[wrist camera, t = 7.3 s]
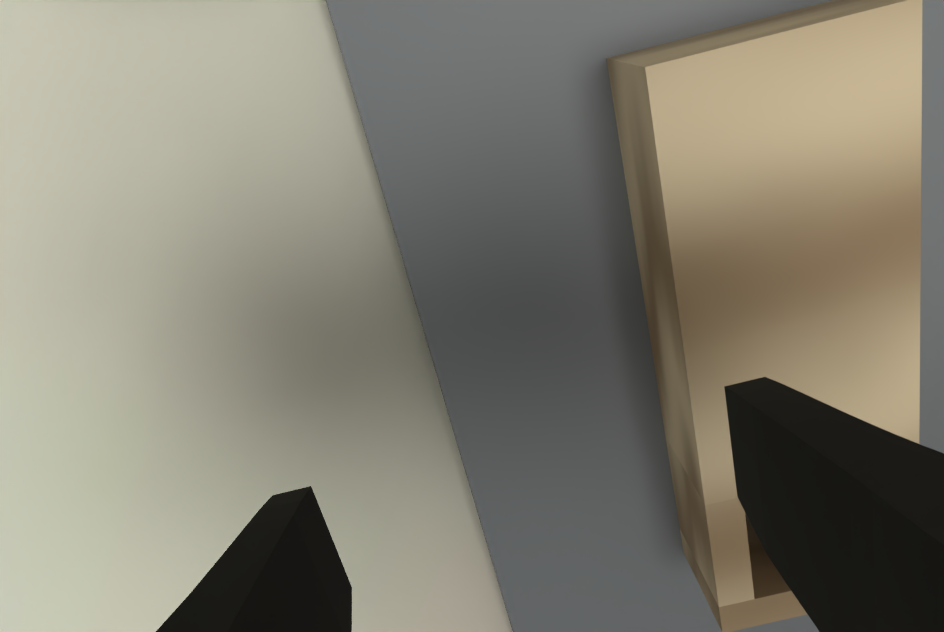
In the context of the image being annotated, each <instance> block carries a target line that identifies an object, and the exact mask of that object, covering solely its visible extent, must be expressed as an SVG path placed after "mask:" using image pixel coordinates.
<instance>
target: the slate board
mask: <svg viewBox="0 0 944 632" xmlns="http://www.w3.org/2000/svg"><path fill="white" fill-rule="evenodd" d="M828 1H832V0H326V2H327V5H328V9H329V12H330V15H331V19H332V22H333V25H334V29H335V32H336V36H337V39H338V42H339V46H340V49H341V53H342V56H343V59H344V63H345V66H346V69H347V73H348V76H349V80H350V83H351V86H352V90H353V93H354V96H355V100H356V103H357V107H358V110H359V113H360V117H361V120H362V123H363V127H364V130H365V134H366V137H367V140H368V144H369V147H370V150H371V154H372V157H373V161H374V164H375V167H376V171H377V174H378V177H379V181H380V184H381V188H382V191H383V194H384V198H385V201H386V205H387V208H388V211H389V215H390V218H391V221H392V225H393V228H394V232H395V235H396V238H397V242H398V245H399V248H400V252H401V255H402V259H403V262H404V265H405V269H406V272H407V275H408V279H409V282H410V286H411V289H412V292H413V296H414V299H415V302H416V306H417V309H418V313H419V316H420V319H421V323H422V326H423V329H424V333H425V336H426V340H427V343H428V346H429V350H430V353H431V357H432V360H433V363H434V367H435V370H436V373H437V377H438V380H439V384H440V387H441V390H442V394H443V397H444V400H445V404H446V407H447V411H448V414H449V417H450V421H451V424H452V427H453V431H454V434H455V438H456V441H457V444H458V448H459V451H460V454H461V458H462V461H463V465H464V468H465V471H466V475H467V478H468V481H469V485H470V488H471V492H472V495H473V498H474V502H475V505H476V508H477V512H478V515H479V519H480V522H481V525H482V529H483V532H484V536H485V539H486V542H487V546H488V549H489V552H490V556H491V559H492V563H493V566H494V569H495V573H496V576H497V579H498V583H499V586H500V590H501V593H502V596H503V600H504V603H505V606H506V610H507V613H508V617H509V620H510V623H511V627H512V630H513V632H722V631H721V629H720V627H719V625H718V623H717V621H716V619H715V617H714V615H713V613H712V610H711V608H710V606H709V604H708V602H707V600H706V598H705V596H704V594H703V592H702V590H701V588H700V586H699V584H698V581H697V579H696V577H695V575H694V573H693V571H692V569H691V567H690V565H689V563H688V561H687V559H686V557H685V554H684V552H683V546H682V539H681V533H680V526H679V520H678V514H677V507H676V501H675V494H674V488H673V482H672V475H671V469H670V462H669V456H668V450H667V443H666V437H665V430H664V424H663V418H662V411H661V405H660V398H659V392H658V386H657V379H656V373H655V366H654V360H653V354H652V347H651V341H650V334H649V328H648V322H647V315H646V309H645V302H644V296H643V290H642V283H641V277H640V270H639V264H638V258H637V251H636V245H635V238H634V232H633V226H632V219H631V213H630V206H629V200H628V194H627V187H626V181H625V174H624V168H623V162H622V155H621V149H620V142H619V136H618V130H617V123H616V117H615V110H614V104H613V98H612V91H611V85H610V78H609V72H608V66H607V59H606V58H609V57H613V56H617V55H621V54H625V53H629V52H633V51H637V50H641V49H644V48H648V47H652V46H656V45H660V44H664V43H668V42H672V41H676V40H680V39H684V38H687V37H691V36H695V35H699V34H703V33H707V32H711V31H715V30H719V29H723V28H727V27H730V26H734V25H738V24H742V23H746V22H750V21H754V20H758V19H762V18H766V17H770V16H773V15H777V14H781V13H785V12H789V11H793V10H797V9H801V8H805V7H809V6H812V5H816V4H820V3H824V2H828ZM919 444H920V445H923V446H926V447H928V448H931V449H934V450H936V451H939V452H942V453H944V0H922V135H921V277H920V419H919ZM731 632H819V630H818V629H817V627H816V626H815V624H814V623H813V622H812V620H811V619H810V617H809V616H808V614H807V615H802V616H798V617H793V618H789V619H784V620H780V621H776V622H771V623H767V624H762V625H758V626H753V627H749V628H744V629H740V630H736V631H731Z"/></svg>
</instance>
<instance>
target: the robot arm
mask: <svg viewBox="0 0 944 632" xmlns="http://www.w3.org/2000/svg"><path fill="white" fill-rule="evenodd" d="M724 388H725V397H726V405H727V413H728V422H729V430H730V439H731V447H732V455H733V464H734V472H735V481H736V489H737V497H738V499H739V501H740V503H741V505H742V507H743V509H744V511H745V513H746V515H747V517H748V519H749V521H750V523H751V525H752V527H753V529H754V531H755V533H756V535H757V537H758V538H759V540H760V542H761V544H762V546H763V548H764V550H765V552H766V554H767V555H768V557H769V558H770V560H771V561H772V563H773V564H774V566H775V567H776V569H777V570H778V572H779V573H780V575H781V576H782V578H783V579H784V581H785V582H786V584H787V585H788V587H789V588H790V589H791V591H792V592H793V594H794V595H795V597H796V598H797V600H798V601H799V603H800V604H801V606H802V607H803V608H804V610H805V611H806V613H807V614H808V616H809V617H810V619H811V620H812V622H813V623H814V624H815V626H816V627H817V629H818V630H819V632H944V453H942V452H939V451H936V450H934V449H931V448H928V447H926V446H923V445H920V444H918V443H915V442H913V441H910V440H908V439H906V438H903V437H901V436H898V435H896V434H893V433H891V432H889V431H886V430H884V429H881V428H879V427H877V426H874V425H872V424H870V423H868V422H865V421H863V420H861V419H858V418H856V417H854V416H852V415H850V414H847V413H845V412H843V411H841V410H838V409H836V408H834V407H832V406H830V405H828V404H825V403H823V402H821V401H819V400H817V399H814V398H812V397H810V396H808V395H806V394H804V393H801V392H799V391H797V390H795V389H793V388H790V387H788V386H786V385H784V384H781V383H779V382H777V381H774V380H772V379H769V378H767V377H762V378H758V379H753V380H749V381H745V382H741V383H737V384H733V385H729V386H724ZM351 625H352V587H351V585H350V582H349V580H348V577H347V575H346V572H345V570H344V567H343V565H342V562H341V560H340V557H339V555H338V552H337V550H336V547H335V545H334V542H333V540H332V537H331V535H330V532H329V530H328V527H327V525H326V522H325V520H324V517H323V515H322V512H321V510H320V507H319V505H318V503H317V500H316V498H315V495H314V493H313V490H312V488H311V486H310V487H306V488H302V489H298V490H293V491H289V492H285V493H281V494H277V495H273V496H272V497H271V498H270V499H269V500H268V501H267V502H266V503H265V504H264V505H263V507H262V508H261V509H260V510H259V511H258V512H257V514H256V515H255V516H254V517H253V518H252V520H251V521H250V522H249V523H248V524H247V526H246V527H245V528H244V529H243V530H242V532H241V533H240V534H239V535H238V537H237V538H236V539H235V540H234V542H233V543H232V544H231V545H230V546H229V548H228V549H227V550H226V551H225V553H224V554H223V555H222V556H221V557H220V559H219V560H218V561H217V562H216V563H215V565H214V566H213V567H212V568H211V569H210V571H209V572H208V573H207V574H206V575H205V577H204V578H203V579H202V580H201V581H200V583H199V584H198V585H197V586H196V587H195V589H194V590H193V591H192V592H191V593H190V594H189V596H188V597H187V598H186V599H185V600H184V601H183V602H182V603H181V605H180V606H179V607H178V608H177V609H176V610H175V611H174V612H173V613H172V614H171V616H170V617H169V618H168V619H167V620H166V621H165V622H164V623H163V624H162V626H161V627H160V628H159V629H158V630H157V631H156V632H351Z"/></svg>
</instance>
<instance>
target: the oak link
mask: <svg viewBox="0 0 944 632" xmlns="http://www.w3.org/2000/svg"><path fill="white" fill-rule="evenodd" d="M606 59H607V66H608V72H609V78H610V85H611V91H612V98H613V104H614V110H615V117H616V123H617V130H618V136H619V142H620V149H621V155H622V162H623V168H624V174H625V181H626V187H627V194H628V200H629V206H630V213H631V219H632V226H633V232H634V238H635V245H636V251H637V258H638V264H639V270H640V277H641V283H642V290H643V296H644V302H645V309H646V315H647V322H648V328H649V334H650V341H651V347H652V354H653V360H654V366H655V373H656V379H657V386H658V392H659V398H660V405H661V411H662V418H663V424H664V430H665V437H666V443H667V450H668V456H669V462H670V469H671V475H672V482H673V488H674V494H675V501H676V507H677V514H678V520H679V526H680V533H681V539H682V546H683V552H684V554H685V557H686V559H687V561H688V563H689V565H690V567H691V569H692V571H693V573H694V575H695V577H696V579H697V581H698V584H699V586H700V588H701V590H702V592H703V594H704V596H705V598H706V600H707V602H708V604H709V606H710V608H711V610H712V613H713V615H714V617H715V619H716V621H717V623H718V625H719V627H720V629H721V631H722V632H731V631H736V630H740V629H744V628H749V627H753V626H758V625H762V624H767V623H771V622H776V621H780V620H784V619H789V618H793V617H798V616H802V615H807V613H806V611H805V610H804V608H803V607H802V606H801V604H800V603H799V601H798V600H797V598H796V597H795V595H794V594H793V592H792V591H791V589H790V588H789V587H788V585H787V584H786V582H785V581H784V579H783V578H782V576H781V575H780V573H779V572H778V570H777V569H776V567H775V566H774V564H773V563H772V561H771V560H770V558H769V557H768V555H767V554H766V552H765V550H764V548H763V546H762V544H761V542H760V540H759V538H758V537H757V535H756V533H755V531H754V529H753V527H752V525H751V523H750V521H749V519H748V517H747V515H746V513H745V511H744V509H743V507H742V505H741V503H740V501H739V499H738V497H737V489H736V481H735V472H734V464H733V455H732V447H731V439H730V430H729V422H728V413H727V405H726V397H725V388H724V386H729V385H733V384H737V383H741V382H745V381H749V380H753V379H758V378H762V377H767V378H769V379H772V380H774V381H777V382H779V383H781V384H784V385H786V386H788V387H790V388H793V389H795V390H797V391H799V392H801V393H804V394H806V395H808V396H810V397H812V398H814V399H817V400H819V401H821V402H823V403H825V404H828V405H830V406H832V407H834V408H836V409H838V410H841V411H843V412H845V413H847V414H850V415H852V416H854V417H856V418H858V419H861V420H863V421H865V422H868V423H870V424H872V425H874V426H877V427H879V428H881V429H884V430H886V431H889V432H891V433H893V434H896V435H898V436H901V437H903V438H906V439H908V440H910V441H913V442H915V443H918V444H919V419H920V277H921V135H922V0H832V1H828V2H824V3H820V4H816V5H812V6H809V7H805V8H801V9H797V10H793V11H789V12H785V13H781V14H777V15H773V16H770V17H766V18H762V19H758V20H754V21H750V22H746V23H742V24H738V25H734V26H730V27H727V28H723V29H719V30H715V31H711V32H707V33H703V34H699V35H695V36H691V37H687V38H684V39H680V40H676V41H672V42H668V43H664V44H660V45H656V46H652V47H648V48H644V49H641V50H637V51H633V52H629V53H625V54H621V55H617V56H613V57H609V58H606Z"/></svg>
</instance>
